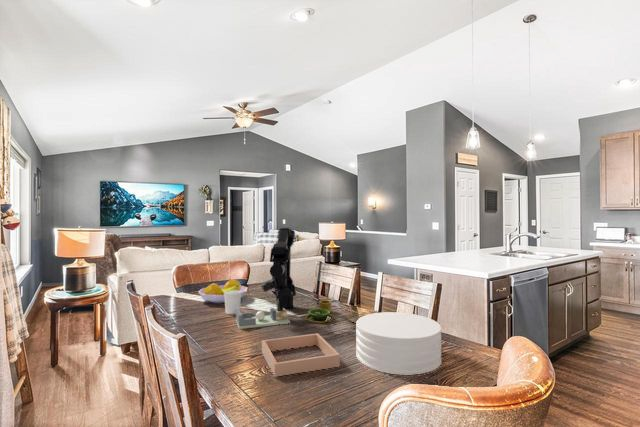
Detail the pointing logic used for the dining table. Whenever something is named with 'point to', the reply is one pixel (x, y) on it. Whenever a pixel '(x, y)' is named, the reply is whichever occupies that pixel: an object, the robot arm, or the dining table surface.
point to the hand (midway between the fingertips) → (280, 308)
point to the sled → (278, 313)
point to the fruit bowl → (221, 291)
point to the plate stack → (398, 343)
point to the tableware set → (322, 313)
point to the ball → (260, 315)
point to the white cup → (232, 301)
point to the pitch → (256, 320)
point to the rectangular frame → (299, 365)
